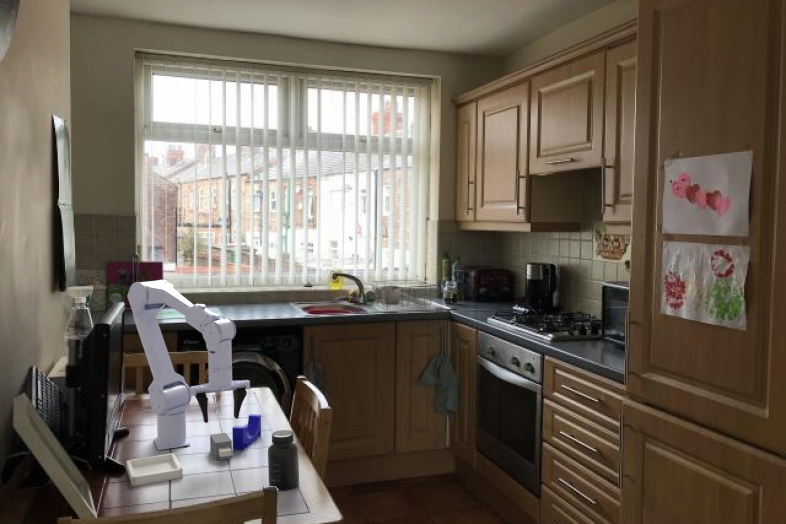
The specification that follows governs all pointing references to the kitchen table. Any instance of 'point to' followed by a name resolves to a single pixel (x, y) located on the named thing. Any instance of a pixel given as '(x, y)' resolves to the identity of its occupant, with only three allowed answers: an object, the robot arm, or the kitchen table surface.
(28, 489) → the kitchen table surface
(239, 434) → the blue u-shaped cradle block
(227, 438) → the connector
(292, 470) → the supplement bottle
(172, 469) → the tray
